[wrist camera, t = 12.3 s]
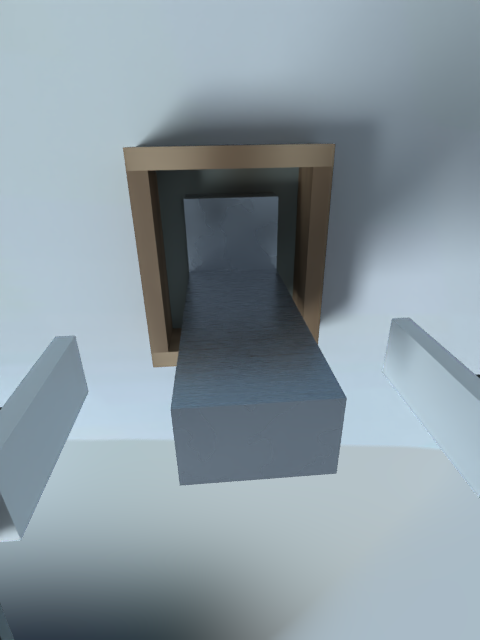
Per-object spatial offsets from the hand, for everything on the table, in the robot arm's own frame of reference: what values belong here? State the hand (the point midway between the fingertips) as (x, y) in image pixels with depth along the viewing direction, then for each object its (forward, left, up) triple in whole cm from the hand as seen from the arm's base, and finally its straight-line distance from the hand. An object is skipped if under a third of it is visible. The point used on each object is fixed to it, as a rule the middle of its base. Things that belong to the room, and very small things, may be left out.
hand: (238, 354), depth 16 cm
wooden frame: (0, +2, -9) cm, 9 cm away
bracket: (0, +2, -9) cm, 9 cm away
